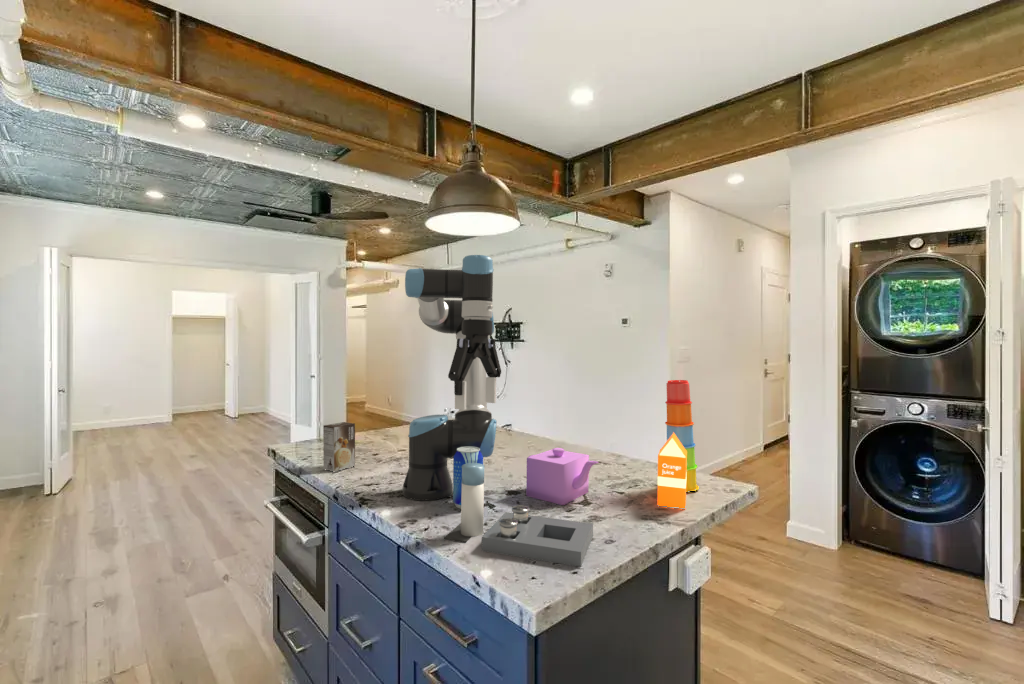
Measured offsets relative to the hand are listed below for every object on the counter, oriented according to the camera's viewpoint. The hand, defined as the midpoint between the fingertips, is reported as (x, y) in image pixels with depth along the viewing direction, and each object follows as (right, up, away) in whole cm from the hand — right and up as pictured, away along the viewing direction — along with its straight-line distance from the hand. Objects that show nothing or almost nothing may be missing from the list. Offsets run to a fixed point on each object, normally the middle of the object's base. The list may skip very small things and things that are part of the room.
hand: (476, 405), depth 116 cm
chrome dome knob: (+8, -29, -10) cm, 32 cm away
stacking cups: (+63, -32, +36) cm, 79 cm away
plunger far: (+11, -29, -2) cm, 31 cm away
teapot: (+24, -31, +28) cm, 48 cm away
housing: (+15, -31, -8) cm, 35 cm away
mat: (-1, -31, -2) cm, 31 cm away
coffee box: (-54, -30, +55) cm, 82 cm away
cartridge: (-1, -30, -2) cm, 30 cm away
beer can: (-4, -31, +18) cm, 36 cm away
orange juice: (+55, -31, +21) cm, 67 cm away
